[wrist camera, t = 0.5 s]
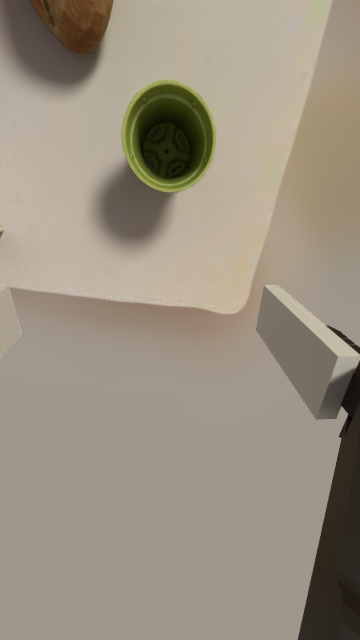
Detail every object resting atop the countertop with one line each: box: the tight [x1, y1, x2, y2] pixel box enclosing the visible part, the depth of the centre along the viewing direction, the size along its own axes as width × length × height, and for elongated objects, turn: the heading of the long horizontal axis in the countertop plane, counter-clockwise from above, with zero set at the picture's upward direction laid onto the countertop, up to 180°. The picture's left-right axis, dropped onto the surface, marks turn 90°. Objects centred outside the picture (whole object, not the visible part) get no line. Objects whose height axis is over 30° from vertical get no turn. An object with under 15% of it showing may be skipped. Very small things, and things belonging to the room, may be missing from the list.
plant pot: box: [122, 80, 216, 193], centre depth 30 cm, size 9×9×9 cm
